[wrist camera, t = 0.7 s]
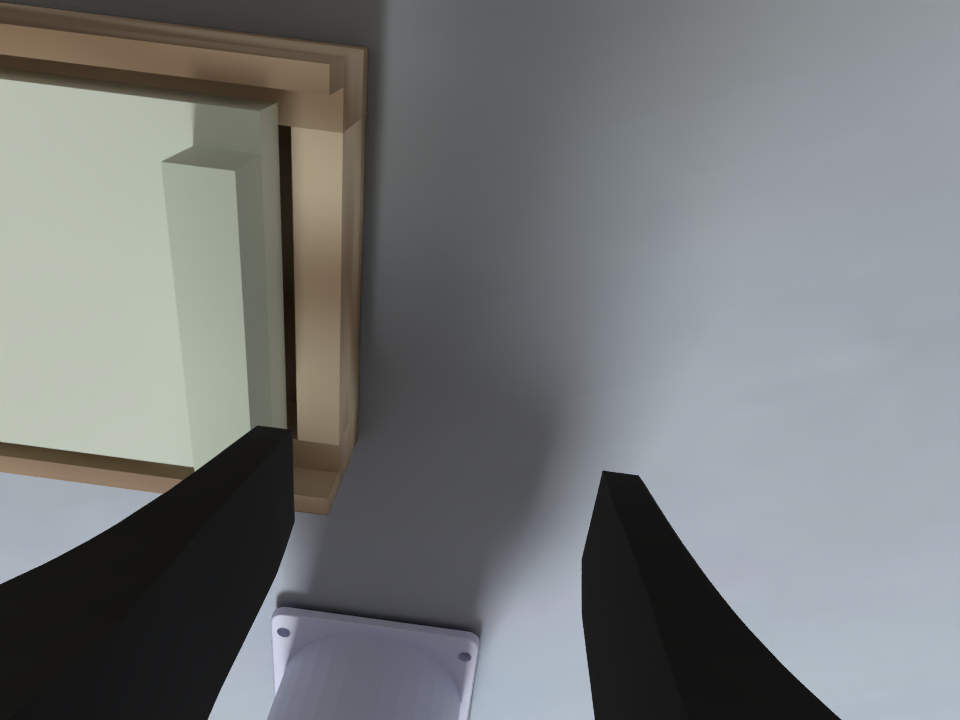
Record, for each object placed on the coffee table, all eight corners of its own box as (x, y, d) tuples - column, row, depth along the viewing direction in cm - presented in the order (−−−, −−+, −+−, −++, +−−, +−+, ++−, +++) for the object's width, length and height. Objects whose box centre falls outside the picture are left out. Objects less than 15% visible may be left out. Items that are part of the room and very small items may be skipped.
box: (356, 440, 24) (327, 515, 20) (-60, 385, 24) (-154, 451, 20) (368, 47, 18) (329, 64, 15) (-183, -21, 18) (-341, -19, 15)
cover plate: (288, 452, 21) (255, 514, 18) (-82, 403, 21) (-161, 458, 19) (277, 102, 16) (232, 124, 14) (-199, 42, 16) (-324, 54, 14)
